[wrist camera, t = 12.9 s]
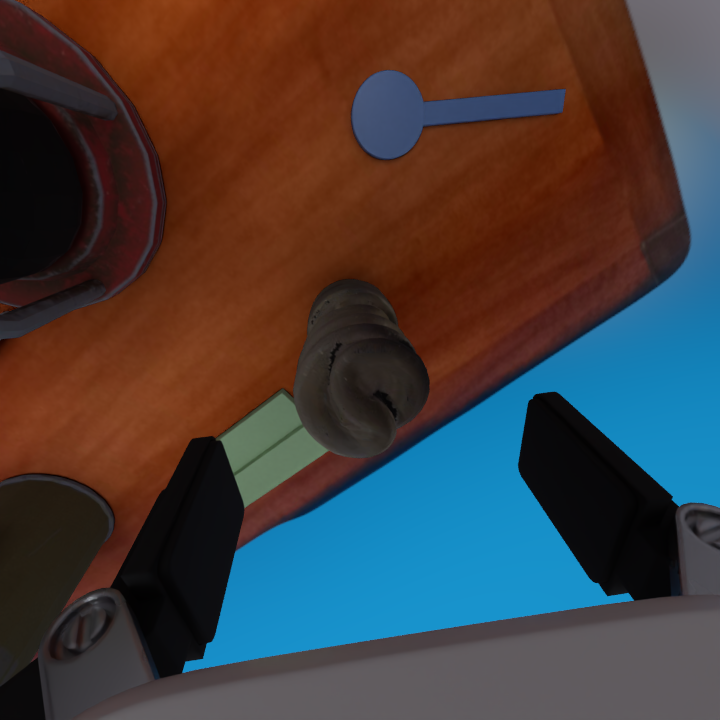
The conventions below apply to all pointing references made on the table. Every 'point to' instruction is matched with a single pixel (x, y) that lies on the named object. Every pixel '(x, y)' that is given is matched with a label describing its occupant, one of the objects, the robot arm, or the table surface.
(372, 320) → the grey spiral shell
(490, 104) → the spoon
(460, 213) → the table surface
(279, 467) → the towel
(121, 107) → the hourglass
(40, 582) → the canister
